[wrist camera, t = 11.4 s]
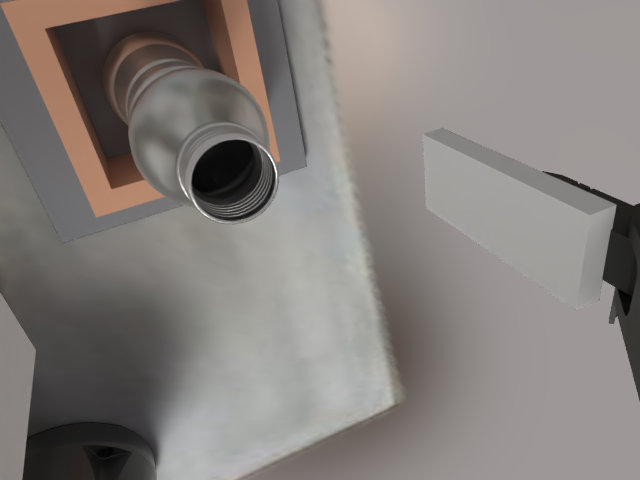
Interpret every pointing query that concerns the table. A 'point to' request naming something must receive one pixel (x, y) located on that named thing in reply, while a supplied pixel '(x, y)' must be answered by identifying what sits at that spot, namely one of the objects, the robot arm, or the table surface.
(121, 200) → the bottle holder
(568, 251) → the robot arm
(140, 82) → the silver bottle
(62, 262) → the table surface
